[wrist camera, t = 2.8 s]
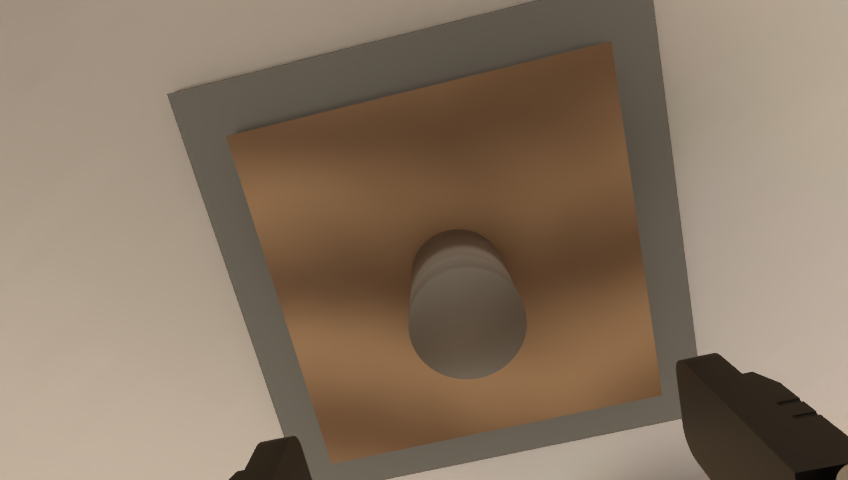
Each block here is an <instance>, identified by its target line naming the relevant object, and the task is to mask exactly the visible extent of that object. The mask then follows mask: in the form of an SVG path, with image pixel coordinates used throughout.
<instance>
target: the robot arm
mask: <svg viewBox="0 0 848 480" xmlns="http://www.w3.org/2000/svg"><path fill="white" fill-rule="evenodd" d="M676 376H677V384H678V391H679V399H680V407H681V414H682V422H683V429H684V433H685V437H686V440H687V443H688V446H689V448H690V450H691V452H692V454H693V456H694V458H695V459H696V461H697V462H698V464H699V465H700V466H701V468H702V469H703V470H704V472H705V473H706V474H707V476H708V477H709V478H710V480H848V436H847V435H846V434H844V433H843V432H842V431H841V430H839V429H838V428H837V427H836V426H834V425H833V424H832V423H830V422H829V421H828V420H827V419H825V418H824V417H823V416H822V415H817V413H816V411H815V410H814V409H813V408H811V407H810V406H809V405H808V404H806V403H805V402H804V401H803V402H801V401H800V398H799V397H797V396H796V395H795V394H793V393H792V392H791V391H790V390H788V389H787V388H786V387H785V386H783V385H782V384H781V383H779V382H777V381H774V380H772V379H769V378H767V377H764V376H762V375H759V374H757V373H754V372H749V373H744V374H742V373H741V372H739V371H738V370H737V369H736V368H735V367H734V366H732V365H731V364H730V363H729V362H728V361H726V360H725V359H724V358H723V357H722V356H721V355H719V354H717V353H713V354H708V355H703V356H697V357H692V358H687V359H682V360H678V361H677V363H676ZM229 480H312V478H311V474H310V471H309V468H308V465H307V462H306V459H305V456H304V452H303V449H302V446H301V443H300V441H299V440H298V438H297V437H296V436H290V437H284V438H279V439H274V440H269V441H264V442H260V443H259V444H258V445H257V447H256V449H255V451H254V453H253V454H252V456H251V458H250V460H249V462H248V464H247V466H246V468H245V470H242V471H237V472H236V473H235V474H234V475H233V476H232V477H231V478H230V479H229Z"/></svg>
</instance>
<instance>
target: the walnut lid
mask: <svg viewBox="0 0 848 480" xmlns="http://www.w3.org/2000/svg"><path fill="white" fill-rule="evenodd" d="M226 138H227V141H228V144H229V147H230V150H231V154H232V157H233V160H234V163H235V166H236V169H237V172H238V175H239V178H240V181H241V185H242V188H243V191H244V194H245V197H246V200H247V203H248V206H249V209H250V213H251V216H252V219H253V222H254V225H255V228H256V231H257V234H258V237H259V240H260V244H261V247H262V250H263V253H264V256H265V259H266V262H267V265H268V268H269V271H270V275H271V278H272V281H273V284H274V287H275V290H276V293H277V296H278V299H279V302H280V306H281V309H282V312H283V315H284V318H285V321H286V324H287V327H288V330H289V334H290V337H291V340H292V343H293V346H294V349H295V352H296V355H297V358H298V361H299V365H300V368H301V371H302V374H303V377H304V380H305V383H306V386H307V389H308V392H309V396H310V399H311V402H312V405H313V408H314V411H315V414H316V417H317V420H318V423H319V427H320V430H321V433H322V436H323V439H324V442H325V445H326V448H327V451H328V455H329V458H330V461H331V464H334V463H339V462H344V461H349V460H353V459H358V458H363V457H368V456H373V455H377V454H382V453H387V452H392V451H397V450H401V449H406V448H411V447H416V446H421V445H425V444H430V443H435V442H440V441H445V440H449V439H454V438H459V437H464V436H469V435H474V434H478V433H483V432H488V431H493V430H498V429H502V428H507V427H512V426H517V425H522V424H526V423H531V422H536V421H541V420H546V419H550V418H555V417H560V416H565V415H570V414H574V413H579V412H584V411H589V410H594V409H598V408H603V407H608V406H613V405H618V404H622V403H627V402H632V401H637V400H642V399H647V398H651V397H656V396H661V395H662V390H661V383H660V376H659V369H658V362H657V355H656V348H655V341H654V334H653V327H652V320H651V313H650V306H649V300H648V293H647V286H646V279H645V272H644V265H643V258H642V251H641V244H640V237H639V230H638V223H637V216H636V209H635V202H634V195H633V189H632V182H631V175H630V168H629V161H628V154H627V147H626V140H625V133H624V126H623V119H622V112H621V105H620V98H619V91H618V85H617V78H616V71H615V64H614V57H613V50H612V43H611V41H610V42H606V43H602V44H598V45H594V46H590V47H586V48H582V49H578V50H574V51H570V52H566V53H562V54H558V55H554V56H550V57H545V58H541V59H537V60H533V61H529V62H525V63H521V64H517V65H513V66H509V67H505V68H501V69H497V70H493V71H489V72H485V73H481V74H477V75H473V76H469V77H464V78H460V79H456V80H452V81H448V82H444V83H440V84H436V85H432V86H428V87H424V88H420V89H416V90H412V91H408V92H404V93H400V94H396V95H392V96H388V97H383V98H379V99H375V100H371V101H367V102H363V103H359V104H355V105H351V106H347V107H343V108H339V109H335V110H331V111H327V112H323V113H319V114H315V115H311V116H307V117H302V118H298V119H294V120H290V121H286V122H282V123H278V124H274V125H270V126H266V127H262V128H258V129H254V130H250V131H246V132H242V133H238V134H234V135H230V136H226Z"/></svg>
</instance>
